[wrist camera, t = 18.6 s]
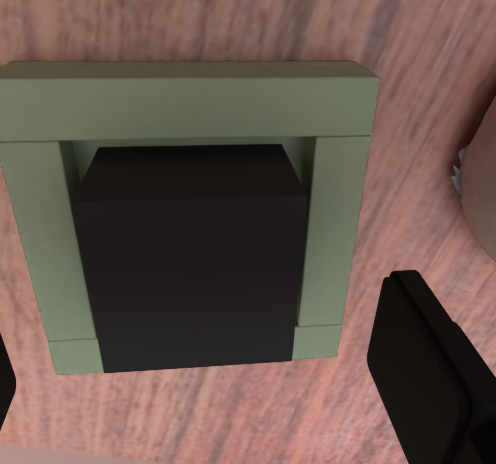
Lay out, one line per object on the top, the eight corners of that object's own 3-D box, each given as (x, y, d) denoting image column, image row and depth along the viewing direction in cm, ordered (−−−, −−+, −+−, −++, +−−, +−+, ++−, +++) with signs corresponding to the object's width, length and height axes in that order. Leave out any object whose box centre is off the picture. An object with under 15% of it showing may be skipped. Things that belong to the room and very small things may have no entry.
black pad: (97, 146, 15) (71, 201, 12) (282, 143, 16) (307, 195, 12) (119, 295, 18) (103, 374, 15) (273, 287, 19) (292, 361, 15)
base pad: (8, 60, 15) (-23, 78, 12) (355, 60, 16) (382, 77, 13) (70, 331, 20) (55, 376, 18) (322, 317, 21) (337, 357, 19)
